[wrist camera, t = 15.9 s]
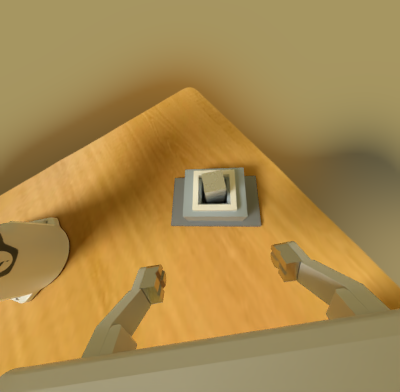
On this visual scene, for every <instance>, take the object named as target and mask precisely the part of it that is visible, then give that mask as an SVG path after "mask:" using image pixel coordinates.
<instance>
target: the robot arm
mask: <svg viewBox="0 0 400 392" xmlns="http://www.w3.org/2000/svg"><path fill="white" fill-rule="evenodd" d="M271 250H272V252H271V260H272V262H273V264H274V266H275V267H276V268H278V269H279V272H278V273H279V275H280V276H281V278H282V279H283V281H284V282H288V281H295V280H297V281H298V282H299V283H300V284H302V285H303V286H304V287H306V288H307V289H308V290H310V291H311V292H312V293H314V294H315V295H316V296H318V297H319V298H320V299H322V300H323V301H324V302H326V303H327V304H328V305H329V307H328V310H327V313H326V315H327V317H328V318H329V320H323V321H316V322H310V323H304V324H297V325H291V326H284V327H278V328H271V329H265V330H259V331H252V332H246V333H239V334H233V335H227V336H220V337H214V338H207V339H201V340H194V341H188V342H182V343H175V344H169V345H163V346H156V347H150V348H143V349H137V350H136V347H137V343H136V342H135V340H134V339H133V338H132V337H131V336H132V335H133V333H134V332H135V330H136V328H137V327H138V325H139V324H140V322H141V320H142V319H143V317H144V316H145V314H146V312H147V311H148V309H149V308H150V306H151V304H156V303H161V302H163V298H164V290H163V288H164V287H165V285H166V274H165V271H163V270H162V269H163V267H162V265H154V266H148V267H142V268H140V269H139V271H138V273H137V276H136V279H135V282H134V284H133V287H132V290H131V291H129V292H128V293H127V294H126V295H125V296H124V297H123V298H122V299H121V300H120V302H119V303H118V304H117V305H116V306H115V307H114V308H113V309H112V310H111V311H110V312H109V314H108V315H107V316H106V317H105V318H104V319H103V320H102V321H101V322H100V323H99V325H98V326H97V327H96V328H95V330H94V333H93V335H92V337H91V339H90V341H89V343H88V345H87V347H86V349H85V351H84V353H83V356H82V358H79V359H73V360H67V361H60V362H54V363H47V364H41V365H35V366H28V367H21V368H16V369H12V370H10V371H8V372H6V373H5V374H3V375H2V376H1V377H0V392H400V309H394V310H390V309H389V308H388V307H387V306H386V305H385V304H384V303H383V302H381V301H380V300H379V299H378V298H377V297H376V296H375V295H374V294H373V293H372V292H371V291H369V290H368V289H367V288H366V287H365V286H364V285H363V284H361V283H359V282H357V281H355V280H353V279H351V278H349V277H347V276H345V275H343V274H341V273H339V272H337V271H335V270H333V269H331V268H329V267H327V266H325V265H323V264H321V263H319V262H317V261H315V260H311V259H310V258H309V257H308V256H307V255H306V254H305V252H304V251H303V250H302V249H301V248H300V247H299V246H298V245H297V244H296V243H295V242H294V241H291V242H286V243H280V244H274V245H272V246H271ZM68 254H69V240H68V237H67V235H66V233H65V232H64V231H63V230H62V229H61V227H60V225H59V221H58V219H57V218H54V217H50V218H45V219H40V220H36V221H31V222H20V221H10V222H9V223H3V224H0V301H3V300H8V299H11V300H14V301H16V302H19V303H26V302H29V301H30V300H32V299H33V298H34V296H35V295H36V294H37V293H38V292H39V291H40V290H41V289H42V288H44V287H45V286H47V285H48V284H50V283H51V282H52V281H53V280H54V279H55V278H56V277H57V276H58V275H59V273H60V272H61V271H62V269H63V267H64V265H65V263H66V261H67V258H68Z"/></svg>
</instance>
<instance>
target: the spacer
mask: <svg viewBox="0 0 400 392" xmlns="http://www.w3.org/2000/svg"><path fill="white" fill-rule="evenodd" d="M213 171H218V170H204V171H194V176H193V204H192V210H193V211H237V202H236V187H235V171H234V169H233V170H222V172H223V176H224V177H229V190H230V204H212V205H199V178H202V175H201V174H202V173H208V172H213Z"/></svg>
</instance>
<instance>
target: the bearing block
mask: <svg viewBox="0 0 400 392" xmlns="http://www.w3.org/2000/svg"><path fill="white" fill-rule="evenodd" d="M233 169H234V171H235V187H236V202H237V211H193V210H192V204H193V176H194V171H204V170H233ZM224 181H225V185H226V194H225V199H224V203H221V204H230V190H229V177H224ZM199 205H212V204H207V201H206V197H205V192H204V186H203V181H202V178H199ZM171 226H246V227H260V226H261V219H260V210H259V202H258V193H257V184H256V176H244V168H219V169H191V170H185V178H175V185H174V197H173V209H172V222H171Z"/></svg>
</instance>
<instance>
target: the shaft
mask: <svg viewBox="0 0 400 392" xmlns="http://www.w3.org/2000/svg"><path fill="white" fill-rule="evenodd" d="M201 175H202V181H203V186H204V192H205V197H206V201H207V204H221V203H224V199H225V194H226V185H225V181H224V176H223V172H222V170H218V171H213V172H208V173H202V174H201Z"/></svg>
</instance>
